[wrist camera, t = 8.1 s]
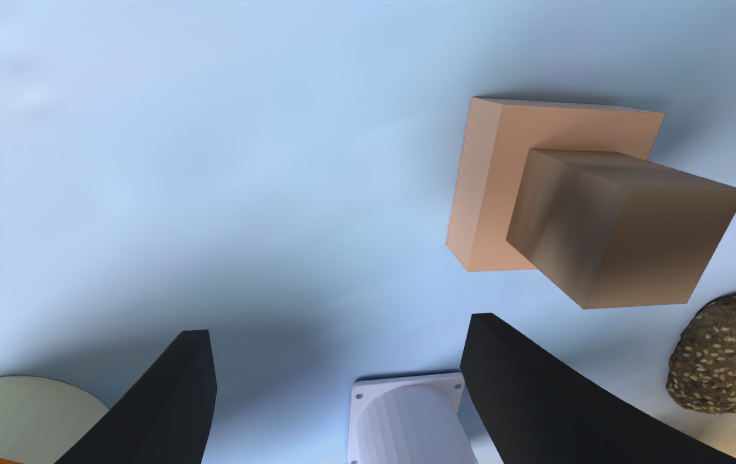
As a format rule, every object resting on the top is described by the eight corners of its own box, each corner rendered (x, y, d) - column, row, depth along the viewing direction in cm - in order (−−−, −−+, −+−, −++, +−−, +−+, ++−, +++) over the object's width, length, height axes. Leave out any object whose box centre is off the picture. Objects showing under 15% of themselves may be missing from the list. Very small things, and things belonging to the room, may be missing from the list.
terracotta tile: (568, 241, 22) (604, 266, 20) (445, 244, 21) (467, 271, 18) (614, 105, 19) (665, 113, 16) (471, 97, 18) (502, 104, 15)
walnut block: (585, 238, 19) (686, 303, 14) (505, 240, 18) (583, 309, 13) (616, 151, 17) (747, 190, 12) (529, 148, 16) (630, 189, 11)
